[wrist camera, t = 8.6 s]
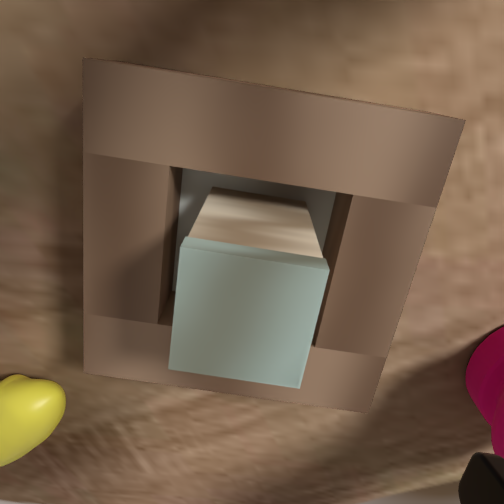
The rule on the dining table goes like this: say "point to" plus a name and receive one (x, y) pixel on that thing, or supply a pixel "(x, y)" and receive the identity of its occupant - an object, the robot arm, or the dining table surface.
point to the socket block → (260, 182)
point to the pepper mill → (489, 385)
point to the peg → (248, 289)
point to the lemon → (27, 414)
